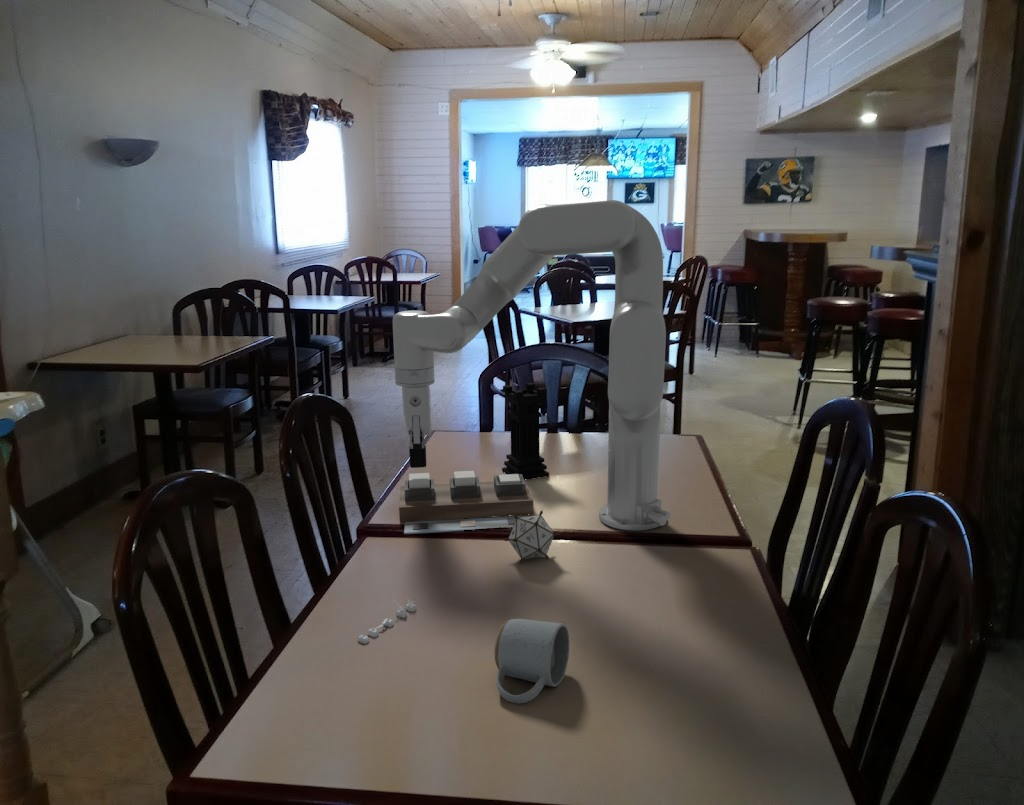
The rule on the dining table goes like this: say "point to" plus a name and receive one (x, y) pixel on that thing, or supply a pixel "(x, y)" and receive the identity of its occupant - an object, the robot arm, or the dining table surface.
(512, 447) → the chess piece
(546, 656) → the ceramic mug
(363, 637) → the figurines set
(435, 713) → the dining table surface
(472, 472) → the button middle
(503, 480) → the button
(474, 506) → the board
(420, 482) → the button
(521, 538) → the game die
